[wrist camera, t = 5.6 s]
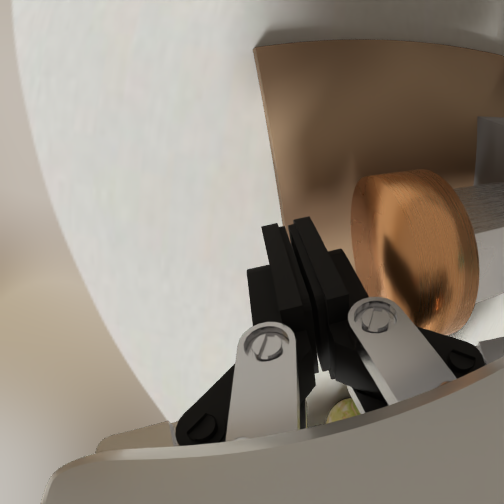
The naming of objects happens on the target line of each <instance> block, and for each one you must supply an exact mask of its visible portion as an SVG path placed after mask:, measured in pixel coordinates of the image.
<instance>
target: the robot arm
mask: <svg viewBox="0 0 504 504" xmlns="http://www.w3.org/2000/svg"><path fill="white" fill-rule="evenodd" d="M261 228H262V232H263V237H264V241H265V246H266V250H267V255H268V259H269V264H270V265H266V266H261V267H257V268H252V269H248V270H247V278H248V287H249V295H250V304H251V313H252V321H253V327H251V328H249V329H248V330H247V331H246V332H244V334H243V335H242V336H241V338H240V339H239V343H238V346H237V354H236V362H235V364H234V365H233V366H232V367H231V368H230V369H229V370H228V371H227V372H226V373H225V374H224V375H223V376H222V377H221V378H220V379H219V380H218V381H217V382H216V383H215V384H214V385H213V386H212V387H211V388H210V389H209V390H208V391H207V392H206V393H205V394H204V395H203V396H202V397H201V398H200V399H199V400H198V401H197V402H196V403H195V404H194V405H193V406H192V407H191V408H190V409H189V410H187V411H186V412H185V413H184V414H183V416H182V417H181V418H180V419H179V421H177V422H174V423H170V422H169V421H165V422H161V423H158V424H154V425H151V426H147V427H143V428H139V429H135V430H131V431H127V432H123V433H119V434H114V435H111V436H108V437H106V438H104V439H103V440H102V441H101V442H100V443H99V445H98V447H97V448H96V452H95V454H91V455H88V456H84V457H81V458H79V459H76V460H74V461H71V462H69V463H67V464H65V465H63V466H62V467H60V468H59V469H58V470H57V471H55V472H54V473H53V475H52V476H51V478H50V479H49V481H48V483H47V485H46V488H45V490H44V493H43V497H42V500H41V504H504V337H500V338H496V339H491V340H486V341H481V342H479V343H478V345H477V346H474V345H472V344H470V343H468V342H465V341H462V340H459V339H456V338H453V337H449V336H446V335H443V334H440V333H437V332H434V331H431V330H427V329H424V328H421V327H418V326H415V325H414V323H413V322H412V321H411V320H410V319H409V317H408V316H407V315H406V314H405V313H404V311H403V310H402V309H401V308H400V307H399V306H398V305H397V304H396V303H395V302H394V301H392V300H390V299H387V298H383V297H369V296H368V294H367V292H366V290H365V289H364V287H363V285H362V283H361V281H360V279H359V278H358V276H357V274H356V272H355V270H354V269H353V267H352V265H351V263H350V261H349V260H348V258H347V256H346V254H345V253H344V251H343V250H342V249H341V248H340V249H336V250H332V251H327V249H326V247H325V245H324V243H323V241H322V239H321V237H320V235H319V233H318V231H317V229H316V227H315V225H314V223H313V222H312V220H311V218H310V216H308V217H303V218H299V219H294V220H293V224H291V225H288V230H289V235H290V240H289V237H288V234H287V231H286V228H285V226H282V227H278V224H277V223H276V224H271V225H267V226H262V227H261ZM290 241H291V243H290ZM317 355H318V358H319V361H320V365H321V368H322V371H327V370H329V373H330V376H331V379H336V381H338V382H341V383H343V384H345V385H347V388H348V391H349V393H350V395H351V397H352V399H353V401H354V403H355V405H356V407H357V409H358V410H359V412H360V415H357V416H353V417H350V418H346V419H342V420H338V421H335V422H331V423H327V424H323V425H318V426H314V427H310V428H307V402H306V397H307V396H308V395H309V393H310V392H311V391H312V389H313V388H314V387H315V385H316V383H315V373H319V370H318V360H317Z"/></svg>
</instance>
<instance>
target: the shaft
mask: <svg viewBox="0 0 504 504" xmlns="http://www.w3.org/2000/svg"><path fill="white" fill-rule="evenodd" d="M351 238H352V248H353V255H354V262H355V268H356V273H357V276H358V278H359V279H360V281H361V283H362V285H363V287H364V289H365V290H366V292H367V294H368V296H369V297H383V298H387V299H390V300H392V301H394V302H395V303H396V304H397V305H398V306H399V307H400V308H401V309H402V310H403V311H404V313H405V314H406V315H407V316H408V317H409V319H410V320H411V321H412V322H413V323H414V325H415V326H418V327H421V328H424V329H427V330H431V331H434V332H437V333H440V334H443V335H449V334H452V333H454V332H457V331H458V330H459V329H461V328H462V327H463V326H464V325H465V323H466V322H467V321H468V319H469V317H470V316H471V313H472V311H473V308H474V306H475V304H476V303H478V302H481V301H484V300H486V299H489V298H492V297H494V296H497V295H499V294H502V293H504V182H499V183H491V184H484V185H476V186H469V187H462V188H454V189H453V188H452V187H451V186H450V185H449V183H448V182H447V181H446V180H445V179H443V178H442V177H441V176H440V175H438V174H436V173H434V172H433V171H430V170H426V169H419V170H410V171H402V172H394V173H386V174H379V175H372V176H366V177H363V178H361V179H360V180H359V181H358V183H357V185H356V187H355V189H354V193H353V197H352V203H351Z"/></svg>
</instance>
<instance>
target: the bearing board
mask: <svg viewBox="0 0 504 504" xmlns="http://www.w3.org/2000/svg"><path fill="white" fill-rule="evenodd" d="M253 53H254V58H255V63H256V68H257V73H258V79H259V84H260V90H261V95H262V100H263V106H264V112H265V117H266V123H267V129H268V135H269V140H270V146H271V152H272V158H273V164H274V171H275V177H276V183H277V190H278V196H279V202H280V209H281V216H282V222H283V226H285V228H286V231H287V234H288V237H289V240H290V235H289V230H288V225H291V224H293V220H294V219H299V218H303V217H308V216H310V218H311V220H312V222H313V223H314V225H315V227H316V229H317V231H318V233H319V235H320V237H321V239H322V241H323V243H324V245H325V247H326V249H327V251H332V250H336V249H340V248H341V249H342V250H343V251H344V253H345V254H346V256H347V258H348V260H349V261H350V263H351V265H352V267H353V269H354V270H355V272H356V268H355V262H354V255H353V248H352V238H351V203H352V197H353V193H354V189H355V187H356V185H357V183H358V181H359V180H360V179H361V178H363V177H366V176H372V175H379V174H386V173H394V172H402V171H410V170H419V169H426V170H430V171H433V172H434V173H436V174H438V175H440V176H441V177H442V178H443V179H445V180H446V181H447V182H448V183H449V185H450V186H451V187H452V188H453V189H454V188H462V187H469V186H476V185H484V184H491V183H499V182H504V56H502V55H498V54H493V53H489V52H484V51H479V50H473V49H468V48H462V47H455V46H449V45H441V44H433V43H423V42H412V41H397V40H323V41H308V42H296V43H286V44H277V45H269V46H262V47H255V48H254V49H253ZM290 243H291V241H290ZM356 274H357V273H356Z"/></svg>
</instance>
